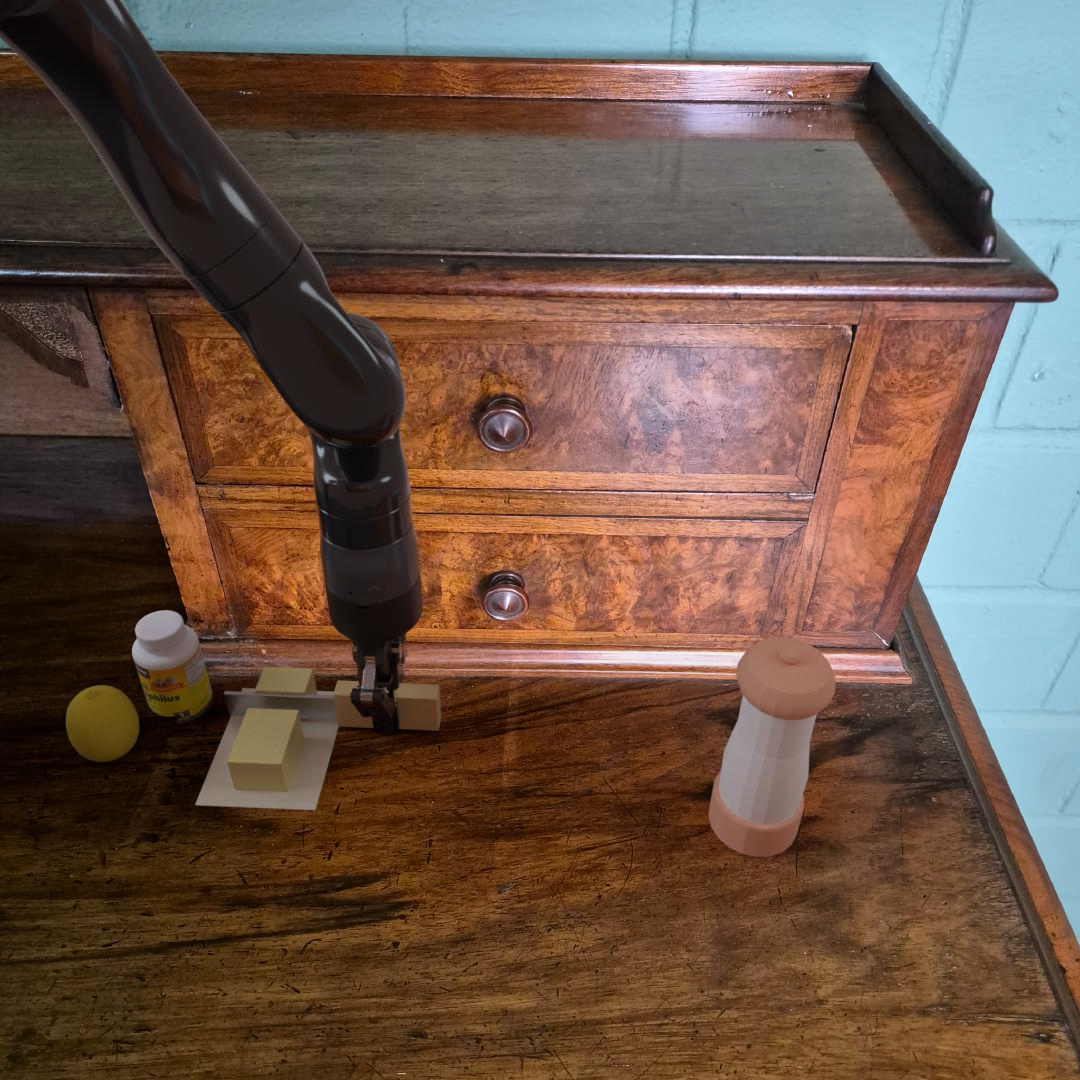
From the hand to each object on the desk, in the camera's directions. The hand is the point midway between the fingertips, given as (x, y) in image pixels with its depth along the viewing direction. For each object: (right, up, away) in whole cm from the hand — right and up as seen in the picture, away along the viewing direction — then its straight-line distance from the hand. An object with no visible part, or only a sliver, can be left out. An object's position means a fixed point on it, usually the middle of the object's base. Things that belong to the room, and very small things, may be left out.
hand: (389, 720), depth 85 cm
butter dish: (-10, -2, -1) cm, 10 cm away
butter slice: (-9, +1, +2) cm, 10 cm away
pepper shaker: (+31, -7, -6) cm, 33 cm away
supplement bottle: (-19, +1, +3) cm, 20 cm away
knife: (-5, 0, 0) cm, 5 cm away
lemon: (-24, -3, -2) cm, 24 cm away
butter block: (-10, -3, -3) cm, 11 cm away
